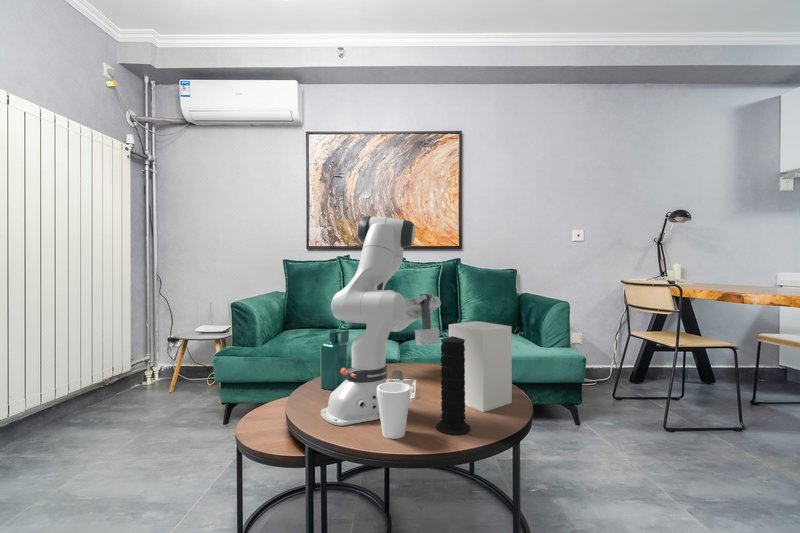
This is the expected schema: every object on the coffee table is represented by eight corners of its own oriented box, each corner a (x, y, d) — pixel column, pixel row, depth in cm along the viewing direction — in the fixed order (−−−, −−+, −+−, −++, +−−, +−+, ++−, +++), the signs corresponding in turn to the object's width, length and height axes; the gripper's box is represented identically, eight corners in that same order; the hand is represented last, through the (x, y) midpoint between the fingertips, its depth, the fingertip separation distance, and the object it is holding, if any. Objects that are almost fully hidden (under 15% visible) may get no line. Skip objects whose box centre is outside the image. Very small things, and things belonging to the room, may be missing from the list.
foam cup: (379, 442, 104) (379, 393, 104) (374, 428, 113) (374, 383, 113) (414, 439, 106) (414, 391, 106) (406, 425, 115) (406, 381, 115)
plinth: (483, 412, 125) (483, 330, 125) (448, 398, 138) (448, 324, 138) (511, 402, 134) (511, 326, 133) (476, 390, 146) (476, 321, 146)
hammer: (415, 345, 157) (420, 345, 154) (412, 294, 158) (416, 294, 156) (435, 342, 162) (439, 342, 160) (431, 293, 164) (436, 293, 162)
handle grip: (429, 424, 116) (446, 438, 107) (429, 334, 116) (446, 340, 107) (458, 418, 120) (477, 431, 111) (458, 332, 120) (477, 337, 111)
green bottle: (318, 388, 151) (317, 330, 151) (331, 382, 158) (331, 327, 158) (339, 391, 146) (338, 332, 146) (352, 385, 154) (351, 329, 154)
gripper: (388, 305, 163) (405, 290, 153) (426, 302, 175) (445, 288, 165) (392, 319, 160) (410, 305, 150) (431, 315, 172) (450, 301, 162)
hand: (428, 296), depth 158 cm, fingers closed on hammer, 2 cm apart
